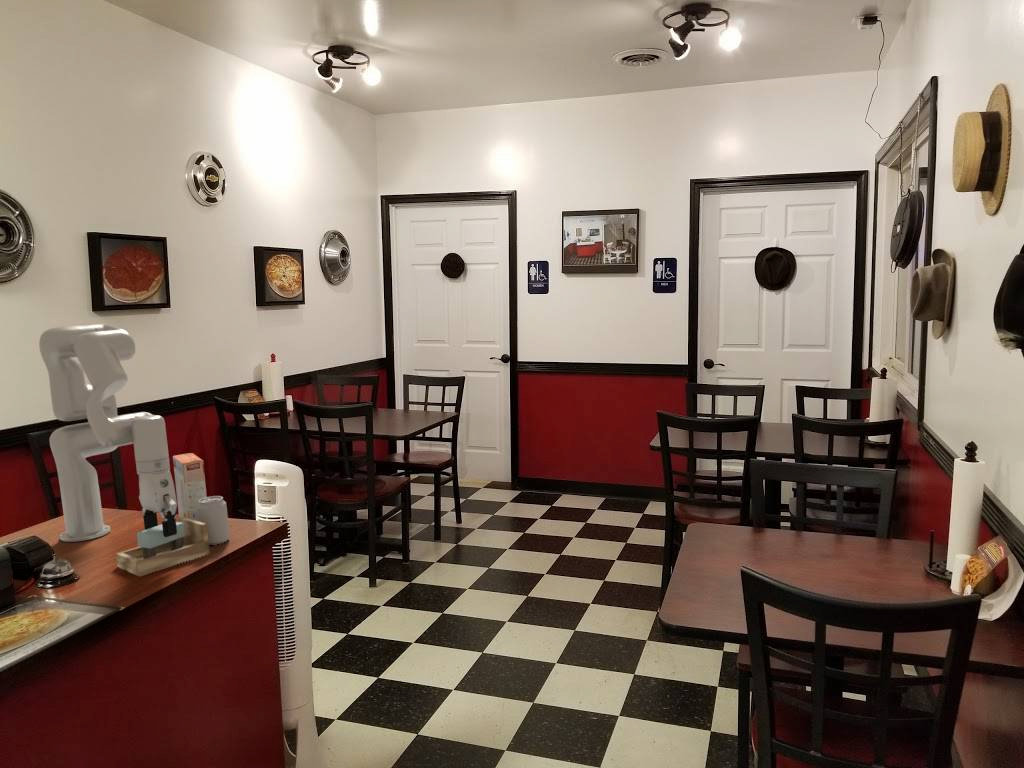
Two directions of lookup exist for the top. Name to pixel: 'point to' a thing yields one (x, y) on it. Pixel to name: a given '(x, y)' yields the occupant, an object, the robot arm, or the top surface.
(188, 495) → the cracker box
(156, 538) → the block
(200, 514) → the can
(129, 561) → the wooden drawer
